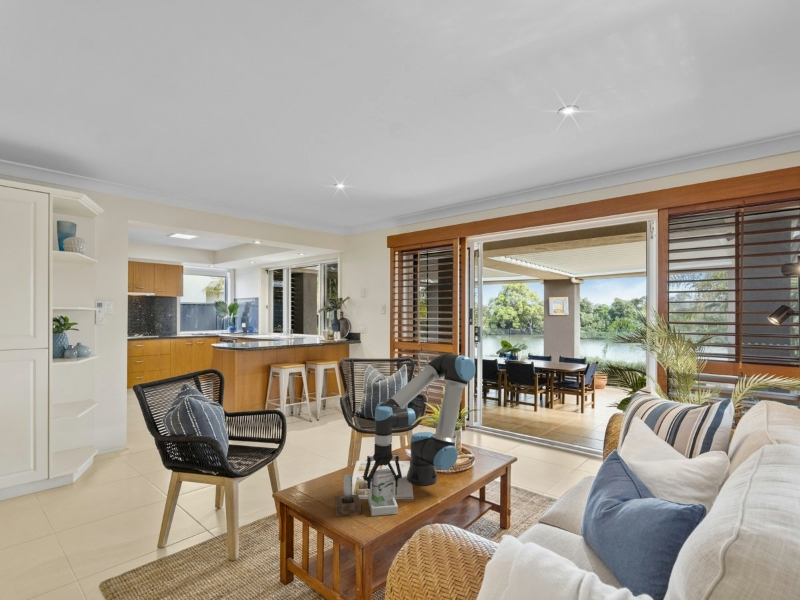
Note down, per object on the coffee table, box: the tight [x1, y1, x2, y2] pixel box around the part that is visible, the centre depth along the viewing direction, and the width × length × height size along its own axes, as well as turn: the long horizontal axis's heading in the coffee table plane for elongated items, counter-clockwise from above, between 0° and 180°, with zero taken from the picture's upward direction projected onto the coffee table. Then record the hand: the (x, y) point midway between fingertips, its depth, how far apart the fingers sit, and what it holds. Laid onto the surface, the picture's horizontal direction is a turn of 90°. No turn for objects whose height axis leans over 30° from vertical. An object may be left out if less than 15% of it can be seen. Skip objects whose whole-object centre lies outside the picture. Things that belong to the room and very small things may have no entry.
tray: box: [367, 493, 399, 517], centre depth 183 cm, size 11×14×3 cm
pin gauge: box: [343, 473, 353, 503], centre depth 180 cm, size 4×4×14 cm
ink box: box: [371, 467, 394, 503], centre depth 183 cm, size 9×5×12 cm, turn 123°
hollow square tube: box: [334, 493, 362, 517], centre depth 180 cm, size 10×10×4 cm
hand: (382, 495), depth 183 cm, fingers closed on ink box, 9 cm apart
